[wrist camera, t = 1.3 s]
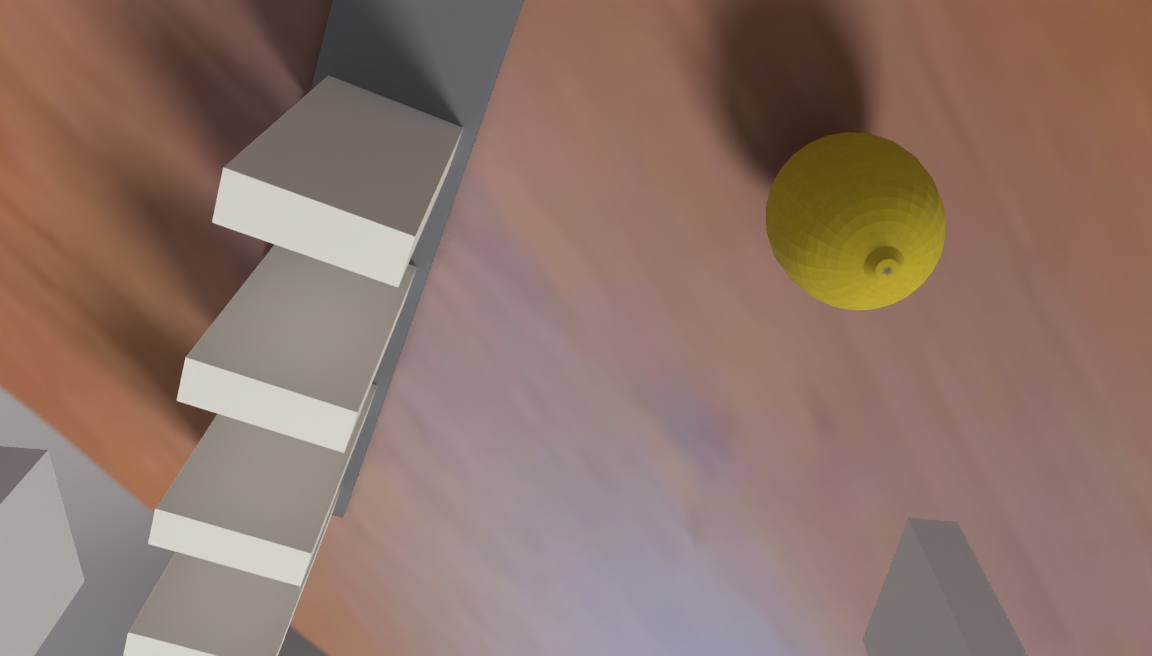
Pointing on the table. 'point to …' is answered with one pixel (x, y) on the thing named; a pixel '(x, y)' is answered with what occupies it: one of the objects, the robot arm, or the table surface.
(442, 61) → the strip
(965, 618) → the robot arm
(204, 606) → the tile
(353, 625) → the table surface
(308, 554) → the tile
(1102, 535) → the table surface
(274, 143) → the tile
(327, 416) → the tile
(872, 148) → the lemon
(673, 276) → the table surface
